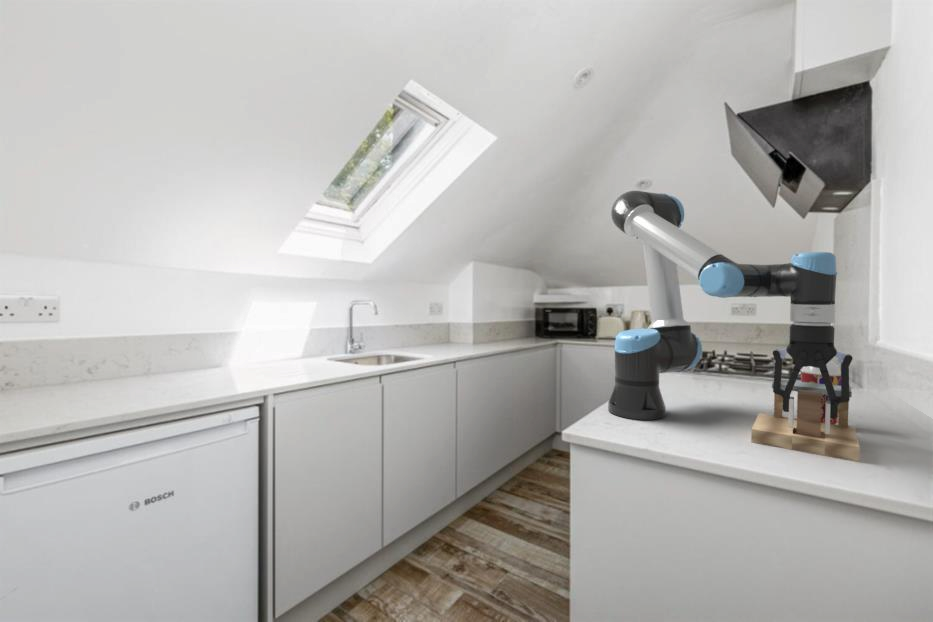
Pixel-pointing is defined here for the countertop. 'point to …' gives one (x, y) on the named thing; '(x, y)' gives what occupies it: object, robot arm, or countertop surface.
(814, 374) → the smoothie
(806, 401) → the peg
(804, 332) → the robot arm
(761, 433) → the socket board
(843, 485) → the countertop surface
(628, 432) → the countertop surface
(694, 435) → the countertop surface
